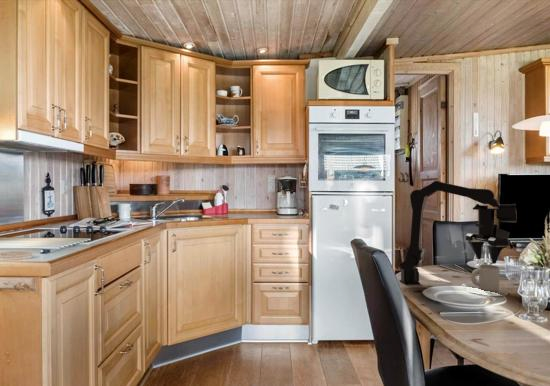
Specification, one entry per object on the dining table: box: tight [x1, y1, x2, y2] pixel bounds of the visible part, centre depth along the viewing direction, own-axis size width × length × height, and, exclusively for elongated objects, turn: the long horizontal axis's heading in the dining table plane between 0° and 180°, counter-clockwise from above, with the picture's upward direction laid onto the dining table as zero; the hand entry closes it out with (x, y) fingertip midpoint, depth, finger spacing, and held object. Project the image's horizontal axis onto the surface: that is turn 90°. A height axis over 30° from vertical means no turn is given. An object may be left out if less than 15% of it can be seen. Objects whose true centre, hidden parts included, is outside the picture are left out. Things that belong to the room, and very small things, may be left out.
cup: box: [470, 264, 501, 292], centre depth 161 cm, size 7×10×9 cm
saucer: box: [465, 284, 509, 297], centre depth 160 cm, size 15×15×1 cm
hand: (486, 261), depth 160 cm, fingers open, 9 cm apart
